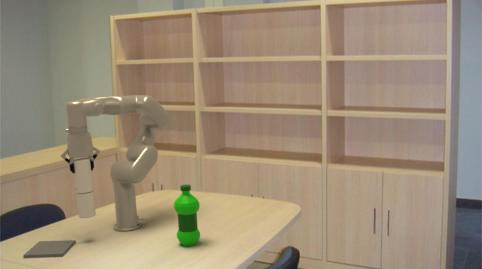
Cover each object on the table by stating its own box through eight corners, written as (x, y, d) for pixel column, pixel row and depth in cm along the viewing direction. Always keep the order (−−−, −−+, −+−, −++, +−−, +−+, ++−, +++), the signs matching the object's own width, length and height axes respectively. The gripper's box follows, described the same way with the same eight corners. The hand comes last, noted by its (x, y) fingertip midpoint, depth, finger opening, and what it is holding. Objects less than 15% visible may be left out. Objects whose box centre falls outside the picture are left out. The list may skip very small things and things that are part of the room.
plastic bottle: (178, 240, 228) (174, 183, 225) (202, 239, 228) (199, 182, 224) (174, 248, 218) (170, 189, 215) (200, 247, 218) (196, 188, 214)
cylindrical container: (92, 212, 235) (86, 156, 231) (98, 215, 229) (92, 158, 226) (76, 215, 231) (70, 159, 227) (81, 219, 225) (75, 161, 222)
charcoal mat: (75, 242, 231) (75, 240, 231) (62, 256, 215) (62, 253, 215) (39, 243, 231) (39, 241, 231) (23, 257, 216) (23, 255, 215)
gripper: (58, 133, 217) (63, 176, 220) (101, 128, 225) (105, 169, 228) (55, 131, 224) (59, 173, 227) (96, 127, 232) (100, 166, 235)
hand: (82, 171), depth 227 cm, fingers closed on cylindrical container, 7 cm apart
